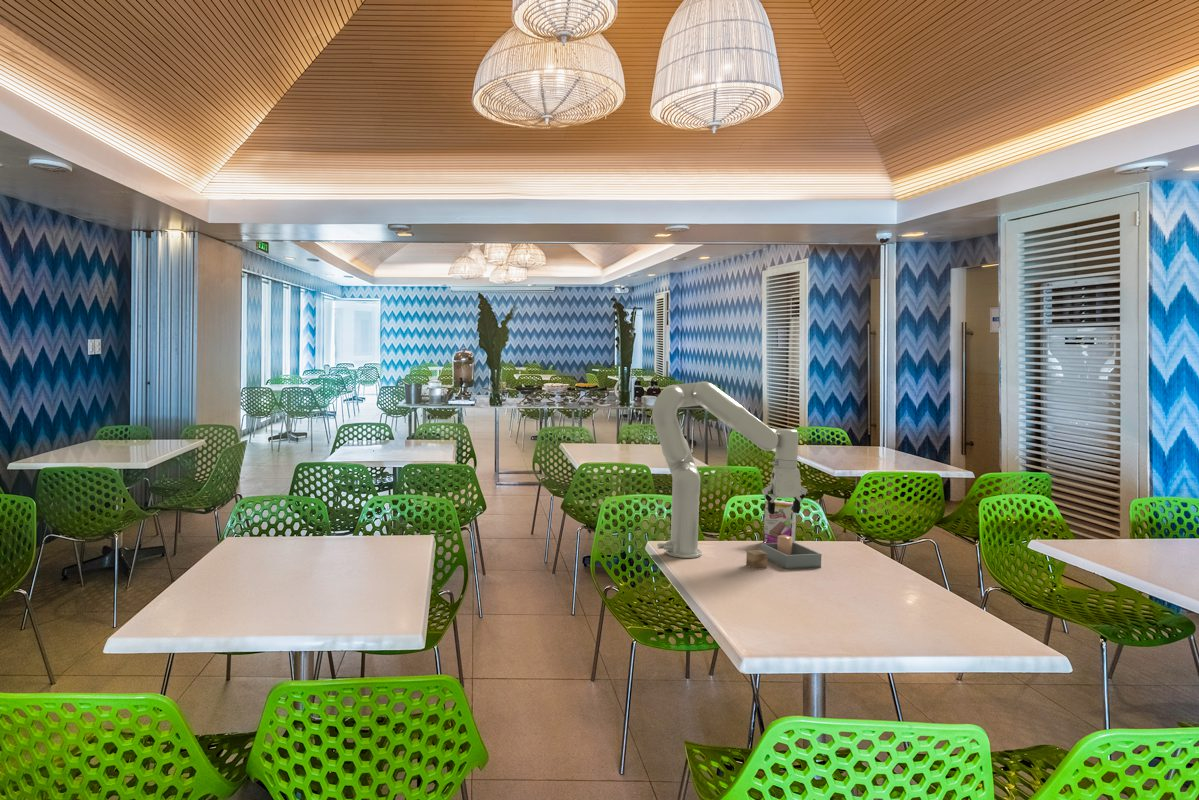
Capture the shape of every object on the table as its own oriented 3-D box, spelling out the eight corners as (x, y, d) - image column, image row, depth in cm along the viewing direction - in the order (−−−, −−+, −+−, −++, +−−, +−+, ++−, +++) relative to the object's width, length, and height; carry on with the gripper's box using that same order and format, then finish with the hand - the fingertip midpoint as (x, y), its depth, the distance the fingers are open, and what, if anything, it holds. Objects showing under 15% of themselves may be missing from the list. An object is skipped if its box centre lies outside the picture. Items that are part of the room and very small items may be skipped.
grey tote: (785, 569, 251) (786, 555, 251) (761, 556, 267) (761, 543, 267) (820, 567, 254) (821, 554, 254) (794, 554, 271) (794, 542, 271)
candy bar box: (762, 543, 287) (764, 500, 286) (766, 541, 291) (768, 499, 291) (791, 548, 281) (792, 504, 281) (795, 545, 285) (797, 502, 285)
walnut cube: (753, 569, 250) (753, 554, 250) (746, 565, 255) (746, 550, 254) (766, 568, 251) (767, 553, 251) (759, 564, 256) (760, 550, 256)
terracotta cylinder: (780, 558, 262) (781, 538, 262) (774, 554, 267) (775, 535, 267) (793, 558, 263) (794, 538, 263) (787, 554, 268) (788, 535, 268)
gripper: (769, 465, 257) (766, 515, 258) (813, 465, 262) (811, 514, 263) (758, 463, 264) (756, 511, 265) (802, 462, 269) (799, 510, 270)
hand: (783, 513), depth 264 cm, fingers open, 9 cm apart
